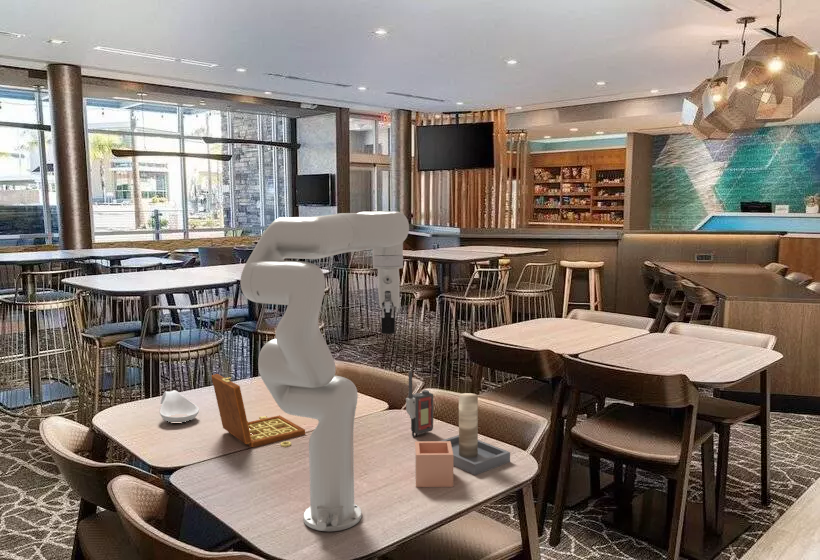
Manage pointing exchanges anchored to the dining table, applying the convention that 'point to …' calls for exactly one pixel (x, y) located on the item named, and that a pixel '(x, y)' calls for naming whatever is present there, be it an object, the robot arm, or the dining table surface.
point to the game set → (239, 426)
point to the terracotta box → (433, 464)
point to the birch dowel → (468, 425)
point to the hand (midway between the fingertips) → (388, 329)
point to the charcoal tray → (479, 457)
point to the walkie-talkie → (419, 410)
